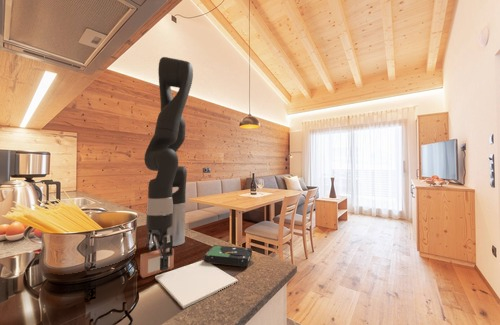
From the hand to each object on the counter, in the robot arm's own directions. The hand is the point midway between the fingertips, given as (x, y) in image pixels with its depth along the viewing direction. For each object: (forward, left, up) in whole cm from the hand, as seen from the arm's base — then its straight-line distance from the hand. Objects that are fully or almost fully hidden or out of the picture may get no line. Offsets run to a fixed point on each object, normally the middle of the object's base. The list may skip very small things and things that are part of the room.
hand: (158, 265), depth 62 cm
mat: (+13, +6, -2) cm, 14 cm away
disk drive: (+9, +21, -2) cm, 23 cm away
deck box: (0, 0, -2) cm, 2 cm away
